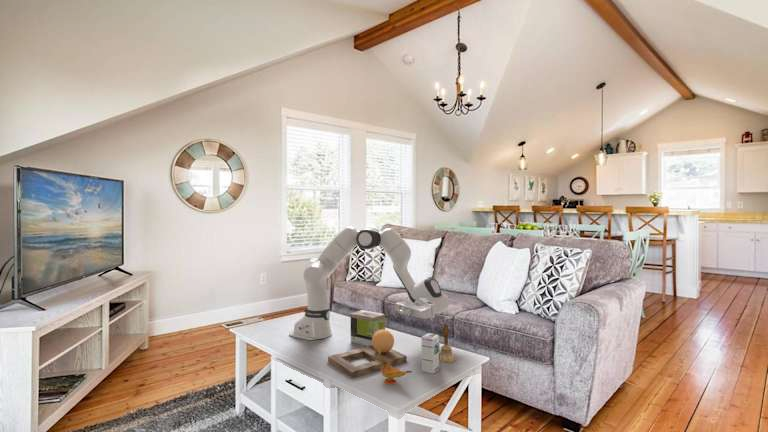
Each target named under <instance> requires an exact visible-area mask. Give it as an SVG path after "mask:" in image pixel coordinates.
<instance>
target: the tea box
mask: <svg viewBox="0 0 768 432" xmlns="http://www.w3.org/2000/svg"><path fill="white" fill-rule="evenodd" d="M378 330H386V314H385V313H382V312H381V313H380V312H377V311H373V310H372V311H370V310H365V309H361V310H358V311H354V312H352V313H350V342H351V343H354V344H358V345H362V346H364V347H367V346H371V345H372V337H373V335H374V334H375V333H376V332H377V331H378Z"/></svg>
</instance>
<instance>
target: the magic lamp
mask: <svg viewBox="0 0 768 432" xmlns="http://www.w3.org/2000/svg"><path fill="white" fill-rule="evenodd" d="M378 353H379V354H378V356H379V357H380V354H381V351H380V350H379V349H378ZM378 356H377V358H378ZM380 360H381V358H380ZM377 362H378V360H377ZM378 363H379V362H378ZM381 363H382V361H381ZM382 364H383V363H382ZM379 365H380V366H381V364H380V363H379ZM384 366H386V367H385V368H383V367H382V366H381V367H382V368H383V369H381V370H380V372H381V374H382V376H383V377H384V378H386V379H384V380H383V383H384V384H386V385H394V384H396V383H397V382H398V381H397V379H398V378H400V377H403V376H405V375H407V374H409V373H410V374H411V373H413V371H412V370H405V371H404V370H403V371H401V370H399V368H397V367H394V366H391V365H390V363H389V362H388V363H387V364H386V365H384Z"/></svg>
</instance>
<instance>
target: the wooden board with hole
mask: <svg viewBox="0 0 768 432" xmlns="http://www.w3.org/2000/svg"><path fill="white" fill-rule="evenodd" d="M378 354H379V353H378V351H376V350H375V349H374V347H373V345H371V346H364V347H360V348H356V349H352V350H348V351H345V352H340V353H338V354H333V355H329V356H327V363H329V364H330V365H332V366H333V367H335V368H336V369H337V370H339V371H341V372H342V373H344V374H345V375H346V376H348V377H350V378H351V379H354V378H358V377H361V376H363V375H368V374H371V373H374V372H377V371H382V370H381V369H383V368H385V367H386V366H384V365H386V364H387V363H388V362H389V363H390V365H391V366H392V367H394V366H397V365H400V364H403V363H407V361H408V360H407V355H406V354H403V353H401V352H399V351H398V350H395V349H393V348H392V349H391V350H390V351H388V352H385V353H381V354H380V357H379V356H378ZM377 356H378V358H377ZM359 358H366V359H367V360H369V362H364V363H362V364H359V365H354V364H352V363H351V362H349V361H353V360H356V359H359ZM380 358H381V360H380ZM377 360H378V362H379V363H380V364H381V366H382V367H383V368H382V367H381V366H380V365H379V363H378V362H377ZM381 361H382V363H383V364H382V363H381Z"/></svg>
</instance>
